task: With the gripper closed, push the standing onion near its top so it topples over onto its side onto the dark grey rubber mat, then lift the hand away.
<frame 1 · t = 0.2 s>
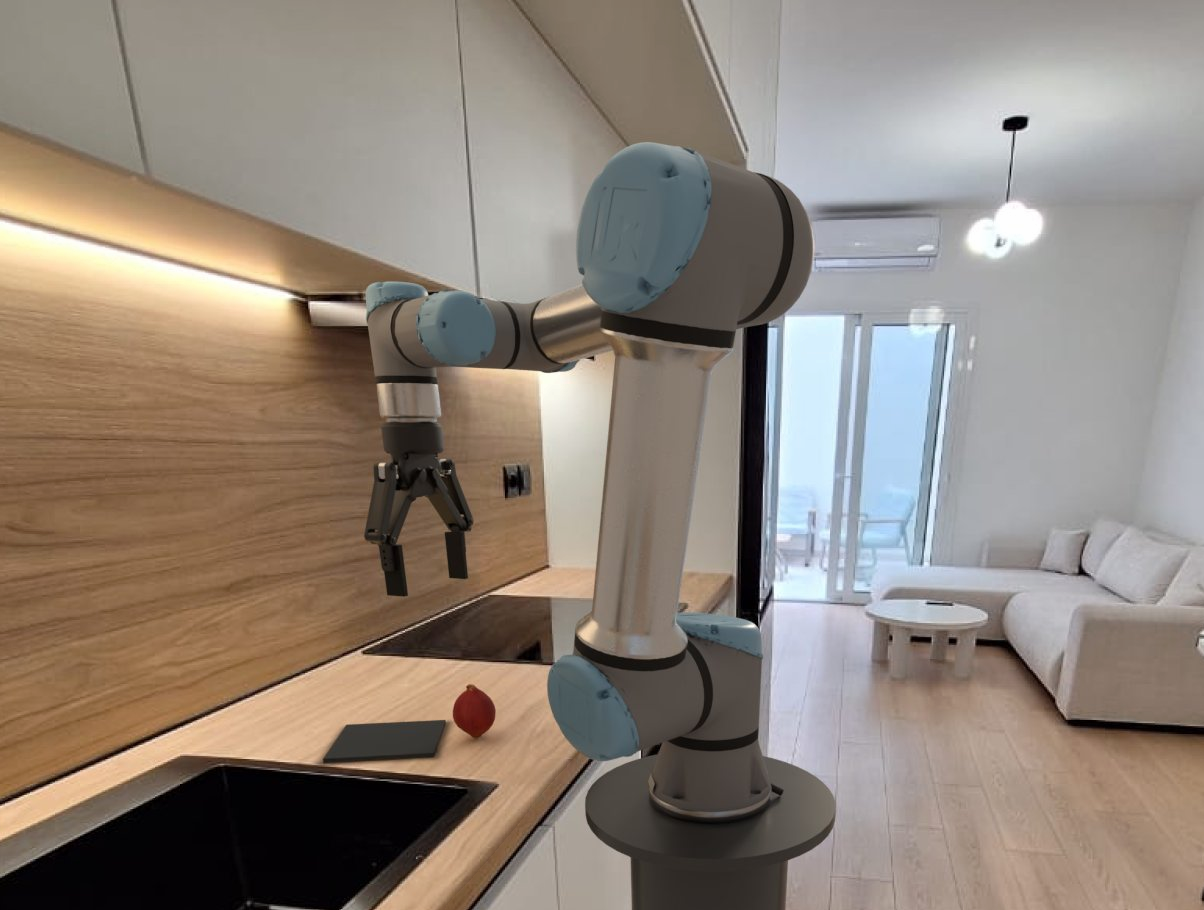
hand: (429, 586, 111), 20 cm above the worktop, tool pointing down, fingers open, 13 cm apart
mat: (388, 741, 112), on the worktop
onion: (476, 738, 114), on the worktop
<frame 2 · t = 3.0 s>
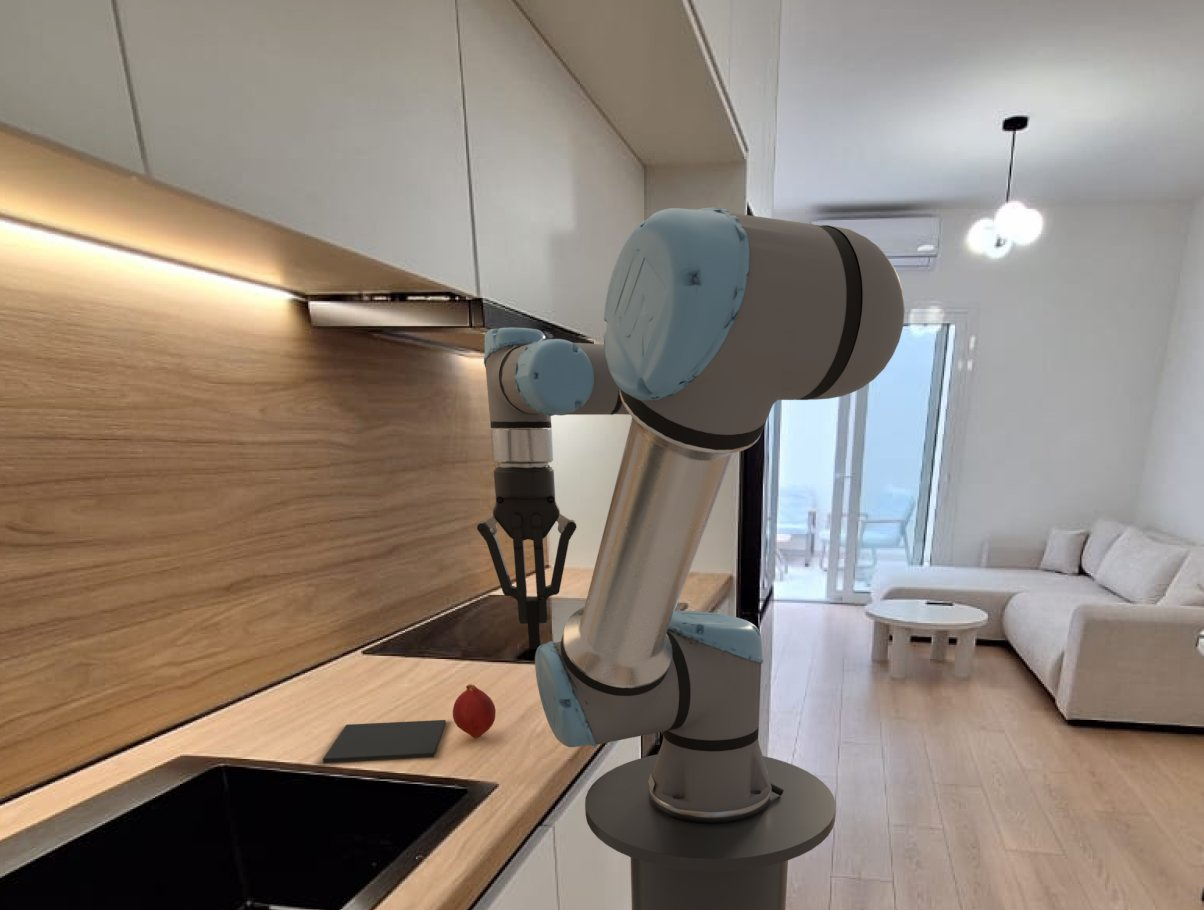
hand: (535, 646, 111), 13 cm above the worktop, tool pointing down, fingers closed
nothing on the worktop moved.
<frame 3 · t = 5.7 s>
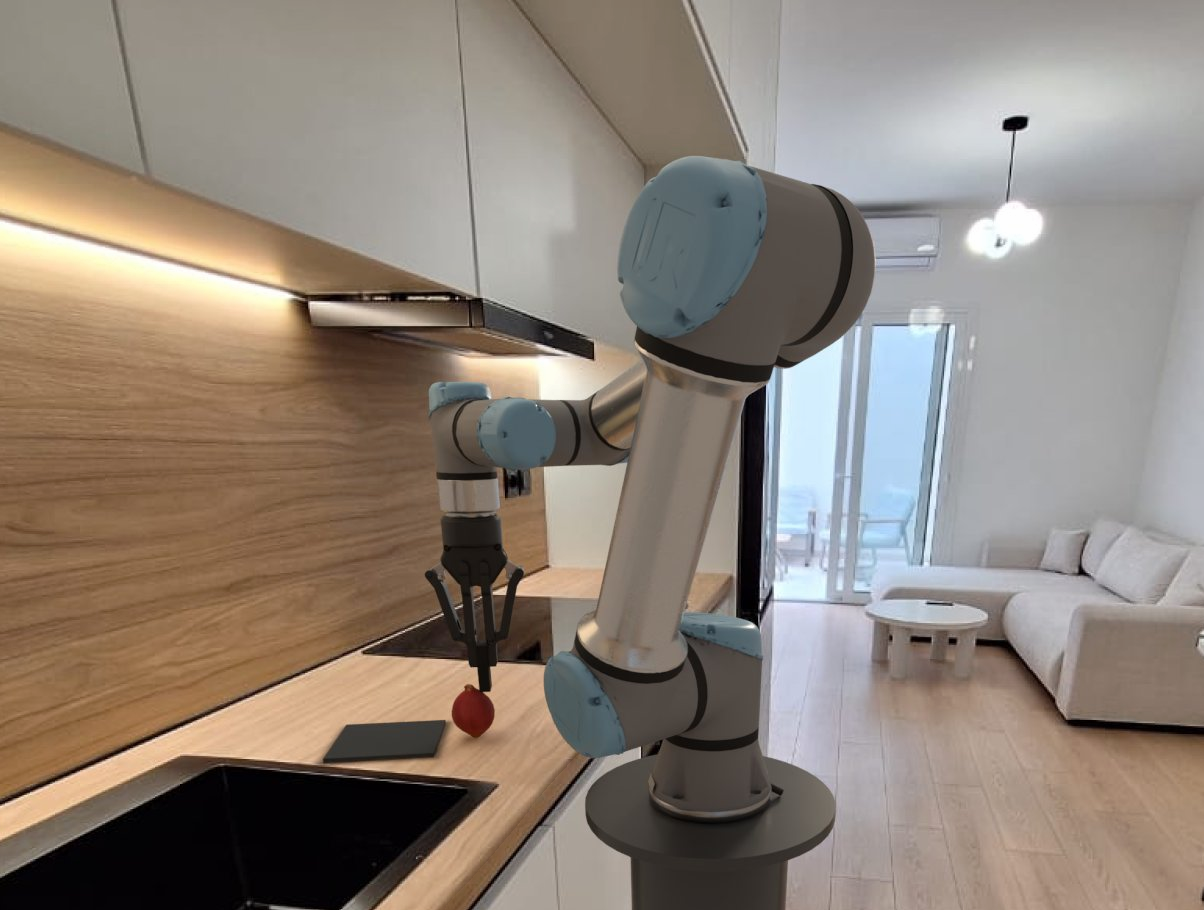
hand: (485, 688, 112), 7 cm above the worktop, tool pointing down, fingers closed
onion: (476, 738, 114), on the worktop, touching gripper
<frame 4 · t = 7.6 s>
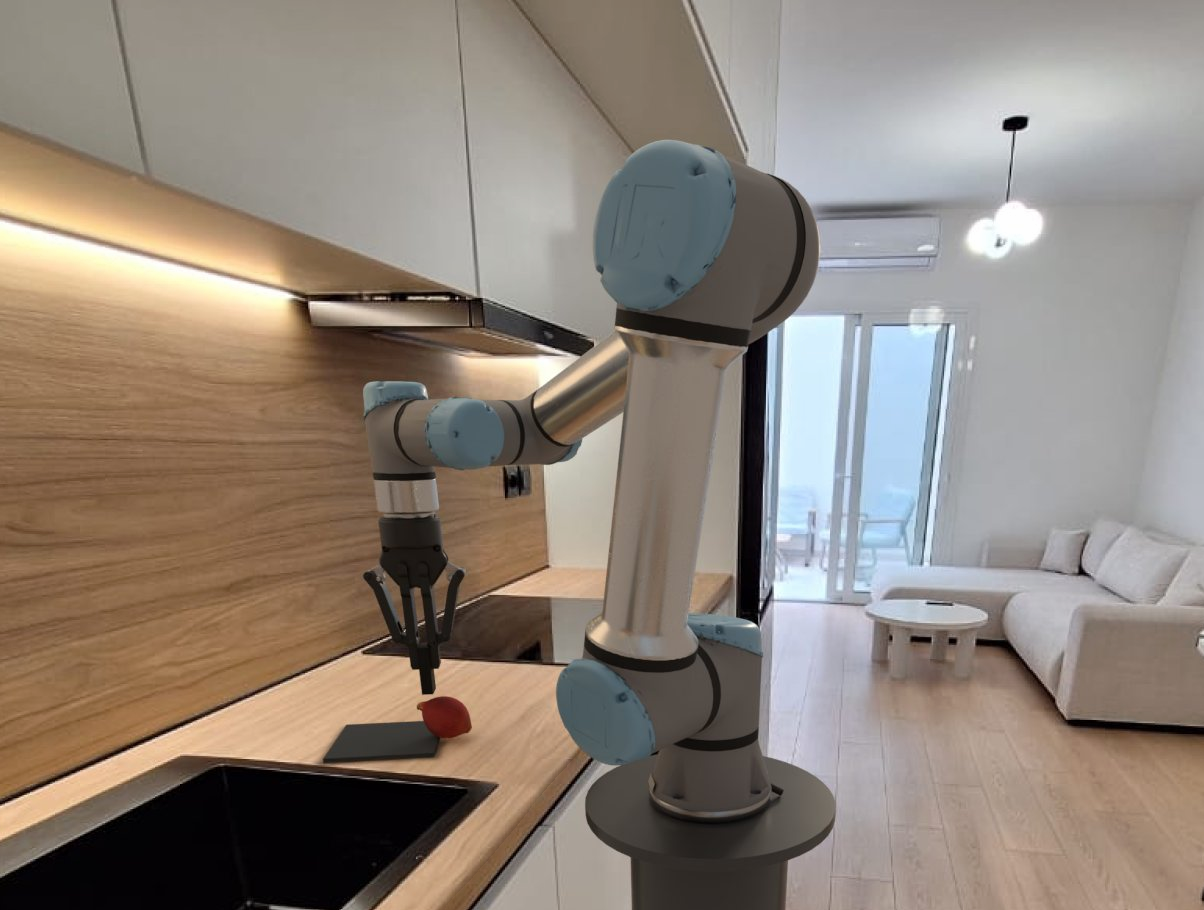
hand: (429, 691, 111), 7 cm above the worktop, tool pointing down, fingers closed
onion: (472, 730, 113), point 1 cm above the worktop, touching mat
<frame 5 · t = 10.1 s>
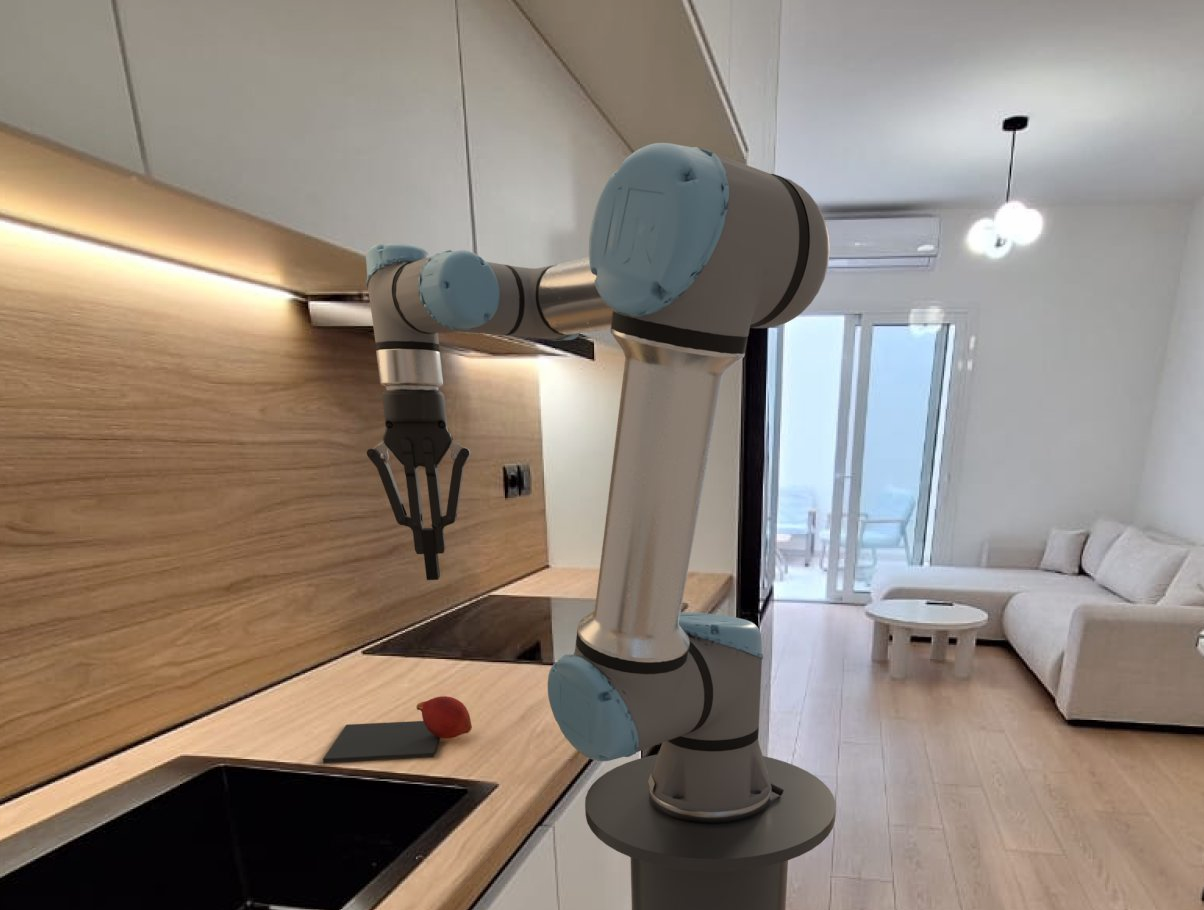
hand: (433, 578, 110), 22 cm above the worktop, tool pointing down, fingers closed
nothing on the worktop moved.
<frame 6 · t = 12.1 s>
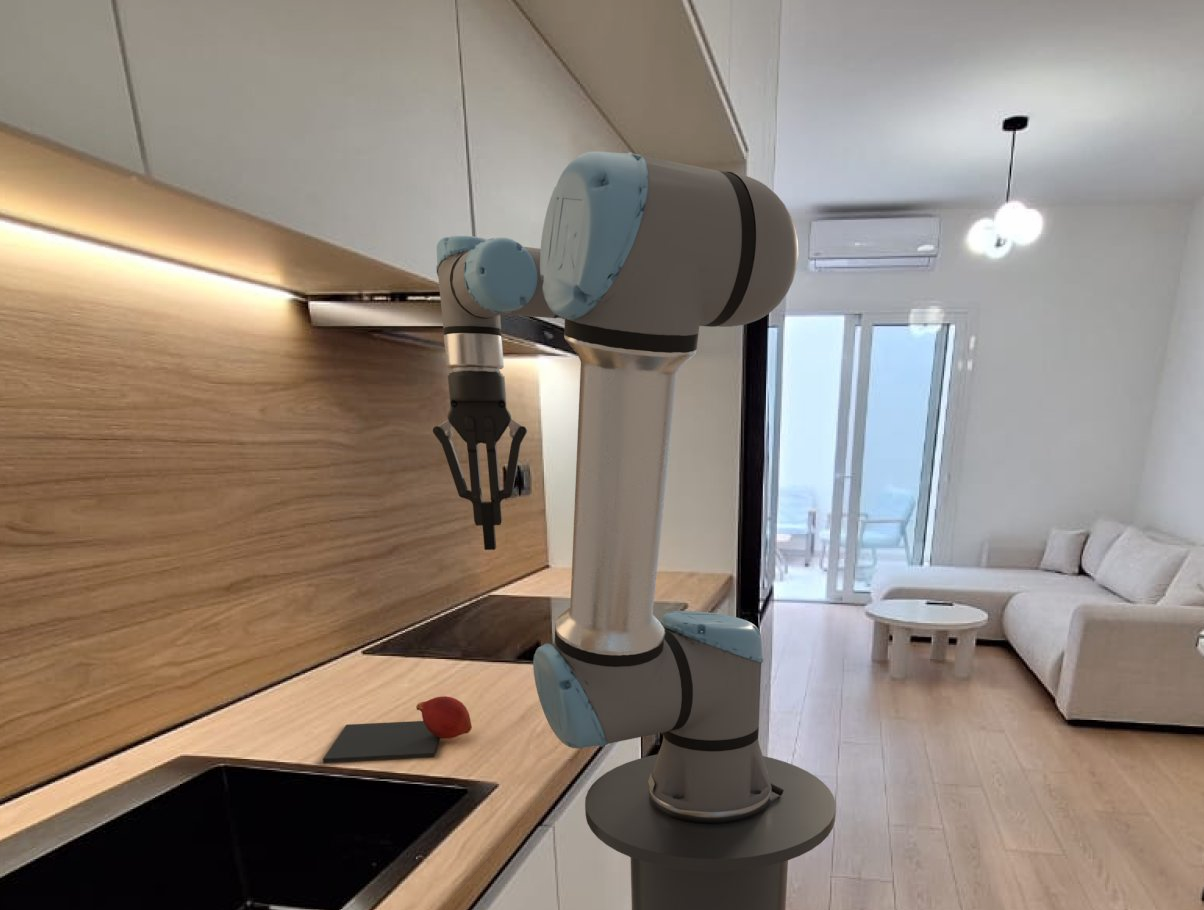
hand: (490, 548, 118), 24 cm above the worktop, tool pointing down, fingers closed
nothing on the worktop moved.
at the end: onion tilted 59°; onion inside the target area (9.5 cm from its centre), point 1.2 cm above the worktop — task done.
